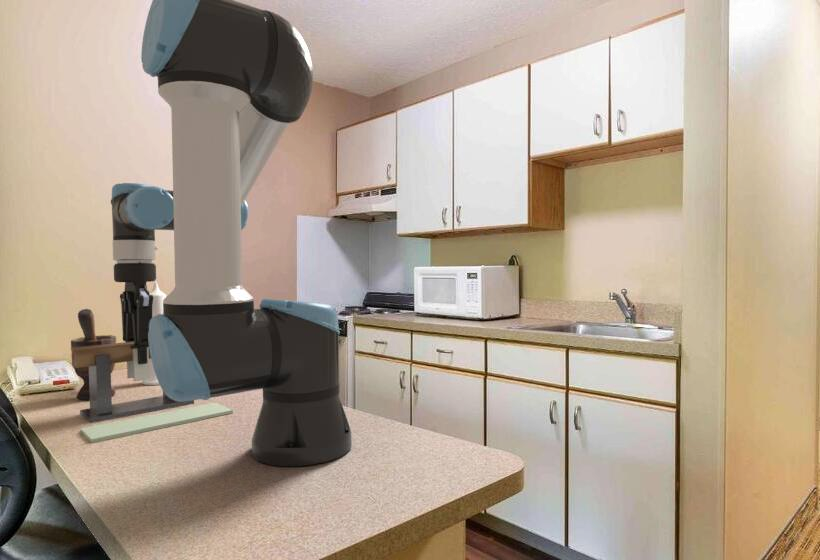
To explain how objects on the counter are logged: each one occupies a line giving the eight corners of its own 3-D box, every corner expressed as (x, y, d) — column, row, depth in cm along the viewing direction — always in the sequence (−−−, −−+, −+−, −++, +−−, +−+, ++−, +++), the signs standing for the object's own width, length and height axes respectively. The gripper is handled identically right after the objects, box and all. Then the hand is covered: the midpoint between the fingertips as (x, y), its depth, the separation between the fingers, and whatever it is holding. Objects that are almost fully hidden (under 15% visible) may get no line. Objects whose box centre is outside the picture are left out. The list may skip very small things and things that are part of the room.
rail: (196, 353, 112) (195, 337, 112) (76, 368, 97) (75, 349, 97) (190, 351, 115) (189, 335, 115) (72, 365, 100) (71, 347, 100)
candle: (145, 380, 133) (142, 281, 132) (175, 378, 135) (173, 280, 134) (139, 386, 126) (137, 282, 125) (172, 384, 128) (169, 281, 127)
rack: (194, 403, 110) (192, 346, 109) (89, 422, 97) (87, 357, 96) (180, 396, 116) (178, 342, 115) (80, 414, 103) (78, 353, 102)
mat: (232, 413, 102) (232, 410, 102) (91, 442, 86) (91, 439, 86) (215, 405, 108) (215, 402, 108) (80, 431, 91) (80, 428, 91)
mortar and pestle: (124, 399, 113) (121, 307, 113) (77, 407, 108) (74, 310, 107) (114, 390, 122) (111, 304, 122) (70, 396, 117) (67, 306, 116)
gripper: (168, 261, 102) (172, 381, 103) (142, 262, 114) (145, 370, 115) (126, 261, 97) (130, 388, 97) (103, 263, 109) (106, 375, 109)
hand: (138, 378), depth 106 cm, fingers closed on rail, 3 cm apart
